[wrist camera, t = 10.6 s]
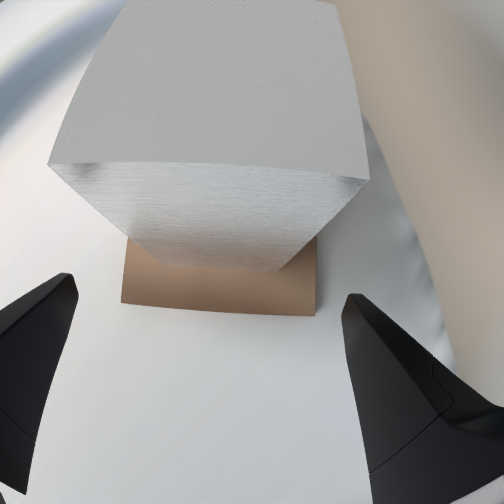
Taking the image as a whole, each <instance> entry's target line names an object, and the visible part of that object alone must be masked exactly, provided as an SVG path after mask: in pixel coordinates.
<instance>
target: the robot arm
mask: <svg viewBox="0 0 504 504" xmlns="http://www.w3.org/2000/svg"><path fill="white" fill-rule="evenodd" d="M78 296H79V295H78V290H77V287H76V284H75V281H74V277H73V275H72V274H70V273H60V274H58V275H56V276H55V277H53V278H51V279H50V280H48V281H46V282H45V283H43V284H41V285H40V286H38V287H36V288H35V289H33V290H31V291H30V292H28V293H27V294H25V295H23V296H22V297H20V298H19V299H17V300H15V301H14V302H12V303H11V304H9V305H8V306H6V307H5V308H3V309H2V310H0V482H2V483H4V484H5V485H7V486H9V487H11V488H12V489H14V490H16V491H18V492H20V493H22V494H24V495H26V492H27V486H28V480H29V474H30V468H31V463H32V457H33V452H34V448H35V442H36V438H37V434H38V430H39V426H40V422H41V418H42V414H43V410H44V407H45V403H46V400H47V396H48V393H49V390H50V386H51V383H52V380H53V377H54V374H55V371H56V368H57V365H58V362H59V359H60V356H61V353H62V351H63V348H64V345H65V342H66V339H67V337H68V333H69V330H70V326H71V322H72V319H73V315H74V312H75V309H76V305H77V302H78ZM341 319H342V327H343V335H344V343H345V352H346V359H347V364H348V369H349V373H350V378H351V382H352V387H353V391H354V396H355V401H356V406H357V411H358V416H359V421H360V426H361V431H362V436H363V442H364V447H365V453H366V459H367V465H368V471H369V479H370V485H371V492H372V499H373V504H504V407H500V406H497V405H494V404H492V403H491V402H489V401H487V400H486V399H485V398H484V397H483V396H481V395H480V394H479V393H477V392H476V391H475V390H474V389H472V388H471V387H470V386H468V385H467V384H466V383H465V382H463V381H462V380H461V379H460V378H458V377H457V376H456V375H455V374H453V373H452V372H451V371H450V370H449V369H448V368H446V367H445V366H444V365H443V364H442V363H441V362H440V361H438V360H437V359H436V358H435V357H433V355H432V354H431V353H429V352H428V351H427V350H426V349H425V348H424V347H423V346H422V345H420V344H419V343H418V342H417V341H416V340H415V339H414V338H413V337H411V336H410V335H409V334H408V333H407V332H406V331H405V330H403V329H402V328H401V327H400V326H399V325H398V324H397V323H395V322H394V321H393V320H392V319H391V318H390V317H388V316H387V315H386V314H385V313H384V312H383V311H381V310H380V309H379V308H378V307H377V306H376V305H374V304H373V303H372V302H371V301H370V300H368V299H367V298H366V297H365V296H364V295H362V294H356V293H351V294H349V295H348V297H347V300H346V303H345V306H344V308H343V311H342V316H341ZM0 504H6V503H5V501H4V498H3V496H2V494H1V492H0Z"/></svg>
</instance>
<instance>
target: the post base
mask: <svg viewBox="0 0 504 504" xmlns="http://www.w3.org/2000/svg"><path fill="white" fill-rule="evenodd" d="M315 299H316V235H315V236H314V237H313V238H312V239H311V240H310V241H309V242H308V243H307V244H306V245H305V246H304V247H303V248H302V249H301V250H300V251H299V252H298V253H297V254H296V255H295V256H293V257H292V258H291V259H290V260H289V261H288V262H287V263H286V264H285V265H284V266H283V267H282V268H281V269H280V270H279V271H278V272H277V273H274V272H257V271H242V270H226V269H211V268H197V267H183V266H170V265H162V264H161V263H160V262H158V261H157V260H156V259H155V258H153V257H152V256H151V255H150V254H148V253H147V252H146V251H145V250H143V249H142V248H141V247H140V246H139V245H137V244H136V243H135V242H134V241H133V240H131V239H130V238H129V237H128V242H127V249H126V257H125V265H124V274H123V284H122V295H121V303H126V304H135V305H144V306H154V307H164V308H175V309H187V310H199V311H212V312H227V313H244V314H264V315H289V316H315Z"/></svg>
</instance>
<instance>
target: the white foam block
mask: <svg viewBox="0 0 504 504" xmlns="http://www.w3.org/2000/svg"><path fill="white" fill-rule="evenodd" d="M47 165H48V166H49V167H50V168H51V169H52V170H53V171H54V172H55V173H56V174H57V175H58V176H60V177H61V178H62V179H63V180H64V181H65V182H66V183H67V184H68V185H69V186H70V187H71V188H73V189H74V190H75V191H76V192H77V193H78V194H79V195H80V196H81V197H83V198H84V199H85V200H86V201H87V202H88V203H89V204H90V205H92V206H93V207H94V208H95V209H96V210H97V211H98V212H100V213H101V214H102V215H103V216H104V217H105V218H106V219H108V220H109V221H110V222H111V223H112V224H113V225H115V226H116V227H117V228H118V229H119V230H121V231H122V232H123V233H124V234H125V235H127V236H128V237H129V238H130V239H131V240H133V241H134V242H135V243H136V244H137V245H139V246H140V247H141V248H142V249H143V250H145V251H146V252H147V253H148V254H150V255H151V256H152V257H153V258H155V259H156V260H157V261H158V262H160V263H161V264H162V265H170V266H183V267H197V268H211V269H226V270H242V271H257V272H274V273H277V272H278V271H279V270H280V269H281V268H282V267H283V266H284V265H285V264H286V263H287V262H288V261H289V260H290V259H291V258H292V257H293V256H295V255H296V254H297V253H298V252H299V251H300V250H301V249H302V248H303V247H304V246H305V245H306V244H307V243H308V242H309V241H310V240H311V239H312V238H313V237H314V236H315V235H316V234H317V233H318V232H319V231H320V230H321V229H322V228H323V227H324V226H325V225H326V224H327V223H328V222H329V221H330V220H331V219H332V218H333V217H334V216H335V215H336V214H337V213H338V212H339V211H340V210H341V209H342V208H343V207H344V206H345V205H346V204H347V203H348V202H349V201H350V200H351V199H352V198H353V197H354V196H355V195H356V194H357V193H358V192H359V191H360V190H361V189H362V188H363V187H364V186H365V185H366V184H367V183H368V182H369V181H370V173H369V165H368V156H367V149H366V142H365V135H364V128H363V122H362V116H361V110H360V105H359V99H358V94H357V90H356V85H355V79H354V75H353V70H352V66H351V62H350V58H349V53H348V49H347V45H346V41H345V38H344V34H343V30H342V26H341V23H340V20H339V16H338V13H337V9H336V6H335V5H334V4H329V3H325V2H320V1H315V0H128V2H127V3H126V4H125V6H124V7H123V9H122V10H121V12H120V13H119V15H118V16H117V18H116V19H115V21H114V22H113V24H112V25H111V27H110V29H109V30H108V32H107V34H106V35H105V37H104V39H103V40H102V42H101V44H100V45H99V47H98V49H97V51H96V52H95V54H94V56H93V58H92V60H91V62H90V64H89V65H88V67H87V69H86V71H85V73H84V75H83V77H82V79H81V81H80V83H79V85H78V88H77V90H76V92H75V94H74V96H73V98H72V101H71V103H70V105H69V108H68V110H67V112H66V115H65V117H64V120H63V122H62V125H61V127H60V130H59V132H58V135H57V138H56V141H55V143H54V146H53V149H52V152H51V155H50V158H49V161H48V164H47Z"/></svg>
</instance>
